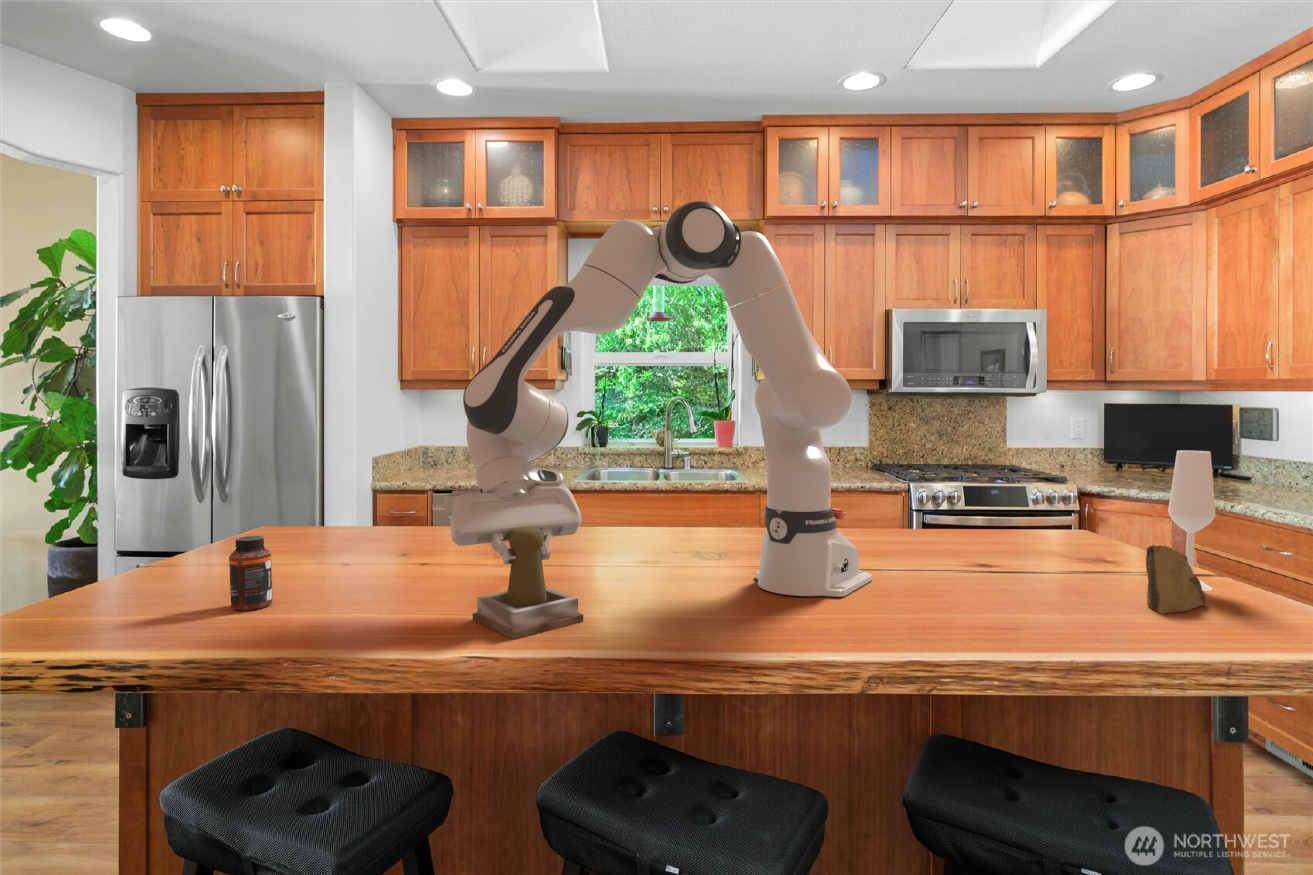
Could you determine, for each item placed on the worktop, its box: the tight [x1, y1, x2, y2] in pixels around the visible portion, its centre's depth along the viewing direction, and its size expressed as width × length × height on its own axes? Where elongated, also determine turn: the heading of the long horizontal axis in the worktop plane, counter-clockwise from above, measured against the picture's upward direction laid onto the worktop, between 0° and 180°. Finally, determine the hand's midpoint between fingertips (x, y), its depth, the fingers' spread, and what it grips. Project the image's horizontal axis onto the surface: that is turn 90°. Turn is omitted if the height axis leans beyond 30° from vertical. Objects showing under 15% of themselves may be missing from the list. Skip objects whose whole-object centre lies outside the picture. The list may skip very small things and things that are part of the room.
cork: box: [507, 527, 547, 606], centre depth 107 cm, size 6×6×11 cm
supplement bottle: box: [228, 535, 273, 611], centre depth 115 cm, size 6×6×11 cm
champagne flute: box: [1167, 450, 1217, 592], centre depth 125 cm, size 7×7×24 cm
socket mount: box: [472, 586, 584, 640], centre depth 107 cm, size 12×12×4 cm
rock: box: [1145, 544, 1209, 615], centre depth 112 cm, size 11×9×10 cm
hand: (528, 559), depth 106 cm, fingers closed on cork, 4 cm apart
